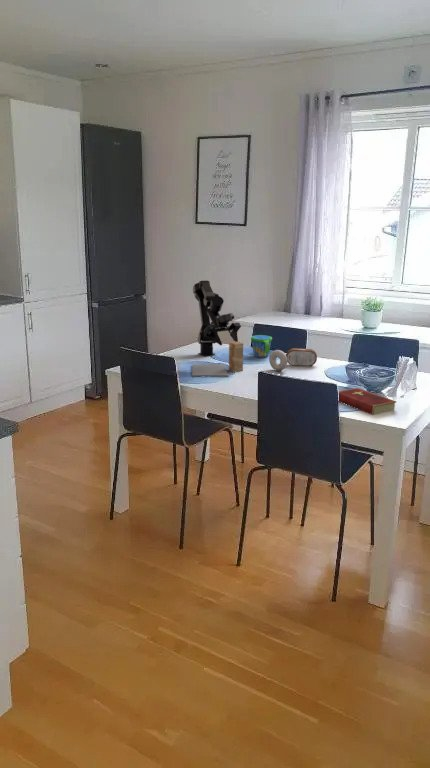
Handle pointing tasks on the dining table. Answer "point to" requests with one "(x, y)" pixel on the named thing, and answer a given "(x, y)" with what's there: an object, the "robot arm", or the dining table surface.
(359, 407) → the hardcover book
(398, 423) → the dining table surface
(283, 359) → the donut
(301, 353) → the tin
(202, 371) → the slate mat
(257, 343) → the snack cup
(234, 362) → the wooden block
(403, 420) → the dining table surface
